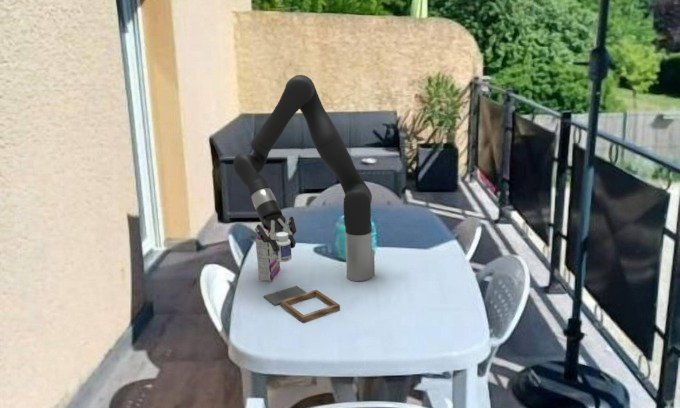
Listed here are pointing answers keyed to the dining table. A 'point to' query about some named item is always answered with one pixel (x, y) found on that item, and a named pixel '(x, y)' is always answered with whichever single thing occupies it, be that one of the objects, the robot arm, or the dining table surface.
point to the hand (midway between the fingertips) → (285, 249)
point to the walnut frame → (303, 318)
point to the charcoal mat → (283, 295)
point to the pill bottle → (283, 247)
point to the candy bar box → (266, 259)
